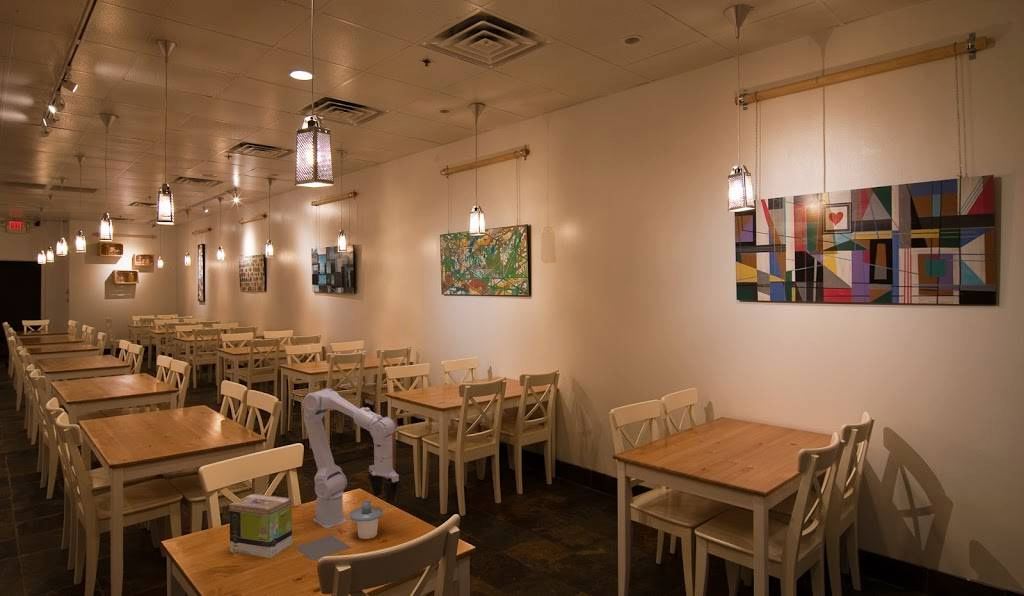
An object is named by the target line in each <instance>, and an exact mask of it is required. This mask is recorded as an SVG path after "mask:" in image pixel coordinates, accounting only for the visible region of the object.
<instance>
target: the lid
mask: <svg viewBox="0 0 1024 596" xmlns="http://www.w3.org/2000/svg"><path fill="white" fill-rule="evenodd" d="M383 514H384V511H383V508H382V507H378V506H374V505H373V506H372V502H371V500H363V501H362V502H361V507H358V508H355V509H353V510H351V511H350V513H349V519H351V520H352V521H355V522H357V521H371V520H375V519H377V518H378V519H379V518H381V517H382V516H383Z"/></svg>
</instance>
